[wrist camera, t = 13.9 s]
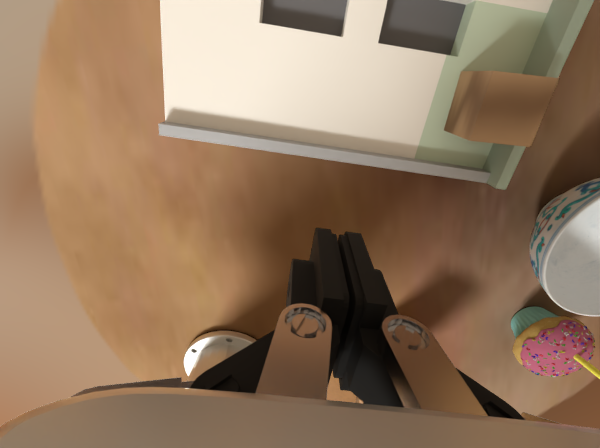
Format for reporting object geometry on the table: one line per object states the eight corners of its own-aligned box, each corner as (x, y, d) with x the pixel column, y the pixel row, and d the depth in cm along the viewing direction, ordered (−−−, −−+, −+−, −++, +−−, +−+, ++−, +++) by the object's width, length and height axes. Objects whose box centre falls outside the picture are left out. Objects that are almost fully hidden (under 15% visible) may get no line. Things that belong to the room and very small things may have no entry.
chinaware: (470, 231, 36) (510, 268, 29) (588, 122, 30) (673, 136, 23) (547, 291, 40) (600, 338, 33) (665, 204, 34) (758, 238, 27)
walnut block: (495, 135, 29) (530, 147, 25) (443, 130, 29) (469, 140, 24) (516, 77, 27) (559, 78, 22) (461, 71, 27) (493, 70, 22)
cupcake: (527, 286, 39) (613, 366, 28) (576, 308, 41) (676, 392, 30) (483, 331, 43) (544, 418, 32) (530, 350, 44) (604, 439, 33)
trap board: (477, 174, 33) (505, 189, 28) (173, 128, 31) (151, 138, 26) (547, 5, 26) (598, -9, 22) (167, -65, 24) (136, -97, 20)
